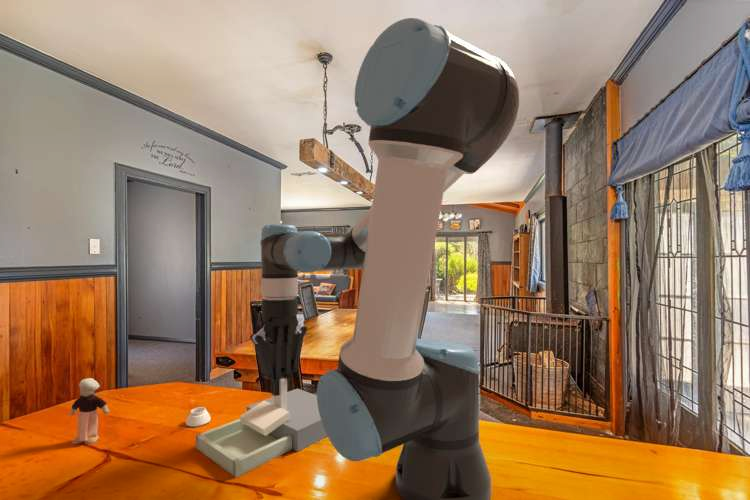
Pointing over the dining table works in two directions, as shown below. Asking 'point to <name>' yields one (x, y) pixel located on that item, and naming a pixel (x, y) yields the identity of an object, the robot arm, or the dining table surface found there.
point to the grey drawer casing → (299, 420)
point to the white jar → (198, 417)
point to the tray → (240, 447)
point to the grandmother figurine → (88, 412)
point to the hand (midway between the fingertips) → (280, 408)
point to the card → (265, 417)
